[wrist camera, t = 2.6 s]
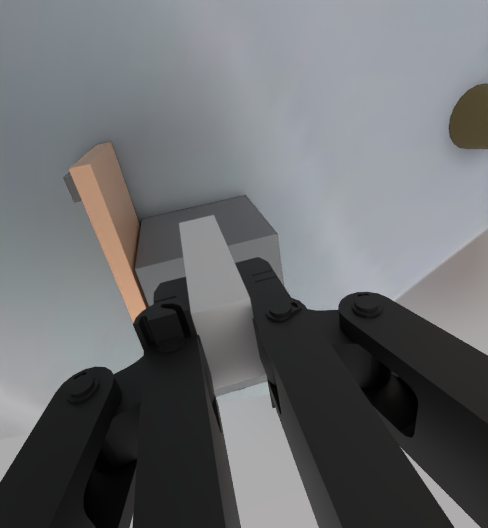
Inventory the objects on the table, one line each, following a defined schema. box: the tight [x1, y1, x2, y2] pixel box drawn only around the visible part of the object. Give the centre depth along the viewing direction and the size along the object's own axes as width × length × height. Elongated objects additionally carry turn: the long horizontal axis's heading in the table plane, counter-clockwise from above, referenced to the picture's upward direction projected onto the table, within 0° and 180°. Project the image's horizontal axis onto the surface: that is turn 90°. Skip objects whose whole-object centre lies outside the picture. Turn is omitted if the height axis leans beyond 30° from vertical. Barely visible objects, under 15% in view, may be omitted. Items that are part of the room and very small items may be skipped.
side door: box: [63, 142, 149, 323], centre depth 28 cm, size 22×2×10 cm, turn 9°
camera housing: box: [135, 195, 284, 397], centre depth 31 cm, size 16×10×11 cm, turn 9°
